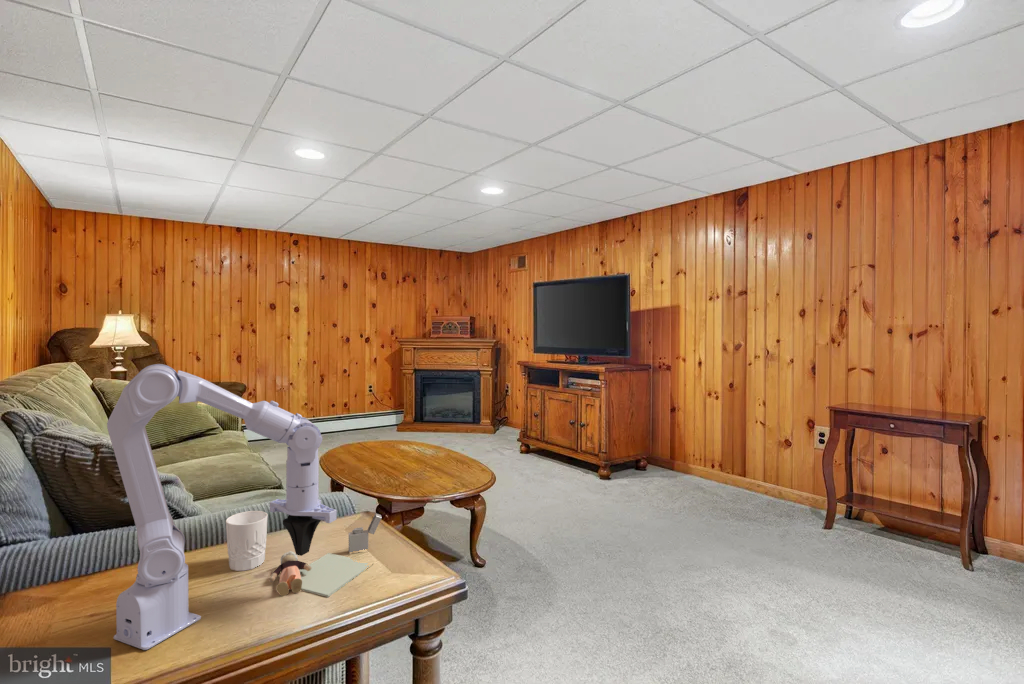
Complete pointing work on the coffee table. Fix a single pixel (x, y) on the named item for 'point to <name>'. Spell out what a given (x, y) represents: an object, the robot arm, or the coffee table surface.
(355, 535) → the lighter
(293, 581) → the grandmother figurine
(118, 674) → the coffee table surface
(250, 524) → the white cup
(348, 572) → the mat
